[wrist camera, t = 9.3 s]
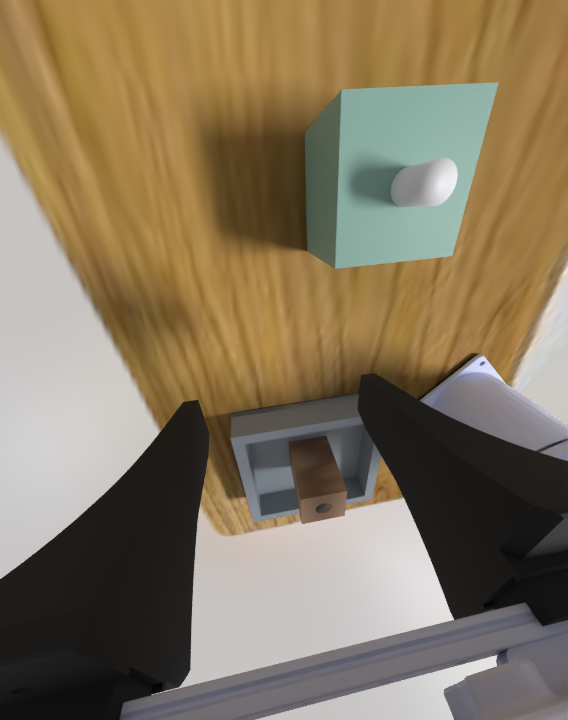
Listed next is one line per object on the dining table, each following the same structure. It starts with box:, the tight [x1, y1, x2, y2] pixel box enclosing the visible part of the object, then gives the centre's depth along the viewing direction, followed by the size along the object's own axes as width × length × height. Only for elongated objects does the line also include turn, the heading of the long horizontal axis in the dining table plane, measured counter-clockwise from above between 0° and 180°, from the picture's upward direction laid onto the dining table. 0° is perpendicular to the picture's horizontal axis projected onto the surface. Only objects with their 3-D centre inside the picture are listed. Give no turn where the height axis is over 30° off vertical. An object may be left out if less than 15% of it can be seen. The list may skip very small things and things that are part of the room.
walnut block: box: [289, 436, 347, 524], centre depth 24 cm, size 4×4×6 cm
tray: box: [230, 393, 381, 522], centre depth 26 cm, size 14×14×3 cm
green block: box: [305, 83, 498, 269], centre depth 12 cm, size 6×6×8 cm
